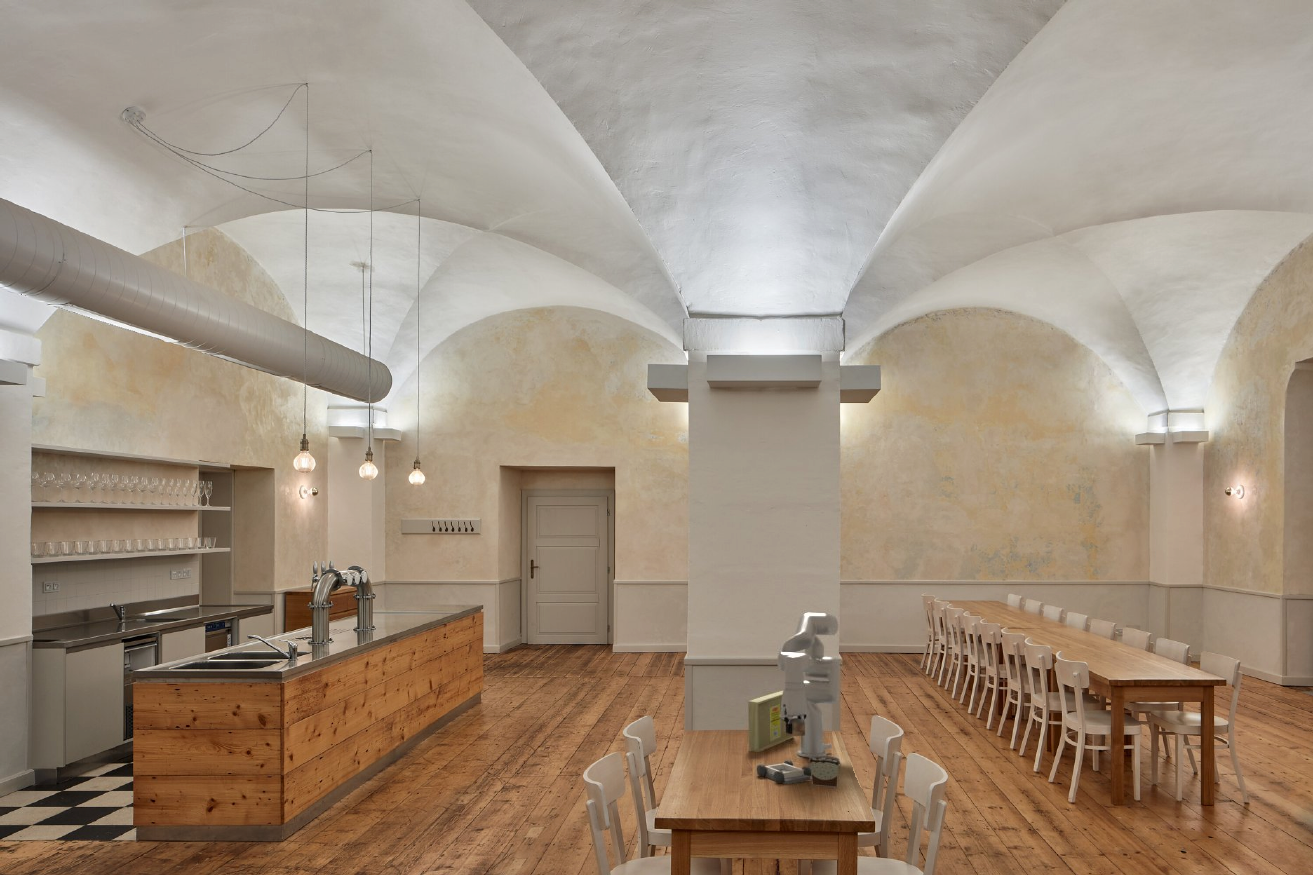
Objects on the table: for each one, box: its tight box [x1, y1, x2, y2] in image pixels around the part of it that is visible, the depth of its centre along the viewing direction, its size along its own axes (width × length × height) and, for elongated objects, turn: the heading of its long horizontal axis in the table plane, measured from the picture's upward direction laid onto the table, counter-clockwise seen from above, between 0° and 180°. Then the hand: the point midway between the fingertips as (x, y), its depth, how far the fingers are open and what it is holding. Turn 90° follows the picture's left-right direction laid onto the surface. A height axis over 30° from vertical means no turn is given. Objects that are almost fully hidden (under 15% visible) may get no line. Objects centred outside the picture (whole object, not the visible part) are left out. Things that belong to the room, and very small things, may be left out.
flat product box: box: [747, 690, 795, 753], centre depth 423 cm, size 35×5×22 cm, turn 145°
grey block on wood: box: [784, 716, 805, 737], centre depth 373 cm, size 5×7×6 cm
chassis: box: [756, 759, 812, 786], centre depth 365 cm, size 15×18×4 cm
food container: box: [807, 755, 841, 788], centre depth 356 cm, size 12×6×10 cm, turn 71°
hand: (794, 732), depth 373 cm, fingers closed on grey block on wood, 5 cm apart
